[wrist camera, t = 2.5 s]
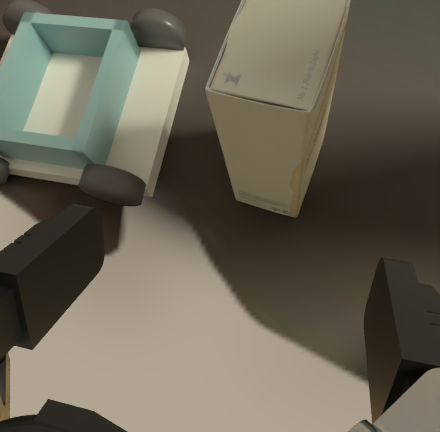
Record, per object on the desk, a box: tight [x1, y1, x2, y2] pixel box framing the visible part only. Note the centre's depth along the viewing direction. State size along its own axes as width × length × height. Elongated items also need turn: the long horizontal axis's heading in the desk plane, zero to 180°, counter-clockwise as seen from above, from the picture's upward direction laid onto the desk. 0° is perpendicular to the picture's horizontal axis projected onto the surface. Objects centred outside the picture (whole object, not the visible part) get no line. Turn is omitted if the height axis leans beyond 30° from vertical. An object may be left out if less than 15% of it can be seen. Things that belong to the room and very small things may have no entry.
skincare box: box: [205, 0, 351, 218], centre depth 22 cm, size 6×4×12 cm
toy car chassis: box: [0, 0, 189, 206], centre depth 29 cm, size 14×13×4 cm
